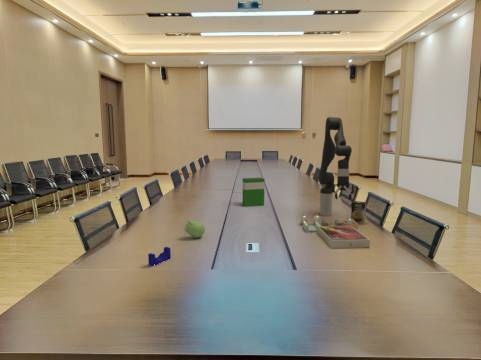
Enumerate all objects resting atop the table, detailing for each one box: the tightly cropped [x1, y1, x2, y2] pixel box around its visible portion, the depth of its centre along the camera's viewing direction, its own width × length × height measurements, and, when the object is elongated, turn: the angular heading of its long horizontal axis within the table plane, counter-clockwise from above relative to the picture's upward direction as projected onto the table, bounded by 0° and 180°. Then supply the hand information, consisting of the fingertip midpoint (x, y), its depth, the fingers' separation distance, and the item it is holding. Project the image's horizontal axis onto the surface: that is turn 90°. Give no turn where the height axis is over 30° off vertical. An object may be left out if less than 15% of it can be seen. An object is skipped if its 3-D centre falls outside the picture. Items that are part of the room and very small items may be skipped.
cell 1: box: [299, 214, 308, 226], centre depth 232 cm, size 5×5×7 cm
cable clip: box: [147, 246, 172, 267], centre depth 165 cm, size 12×4×6 cm, turn 148°
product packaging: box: [316, 225, 371, 249], centre depth 199 cm, size 22×28×5 cm
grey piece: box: [302, 219, 362, 233], centre depth 219 cm, size 11×36×6 cm, turn 89°
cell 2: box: [313, 214, 322, 226], centre depth 231 cm, size 5×5×7 cm
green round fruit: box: [183, 220, 206, 239], centre depth 202 cm, size 12×11×11 cm
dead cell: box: [345, 217, 354, 224], centre depth 219 cm, size 5×5×7 cm
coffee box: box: [350, 200, 367, 225], centre depth 231 cm, size 9×6×16 cm
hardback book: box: [242, 177, 265, 208], centre depth 291 cm, size 18×7×24 cm, turn 107°
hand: (343, 199), depth 224 cm, fingers open, 8 cm apart
